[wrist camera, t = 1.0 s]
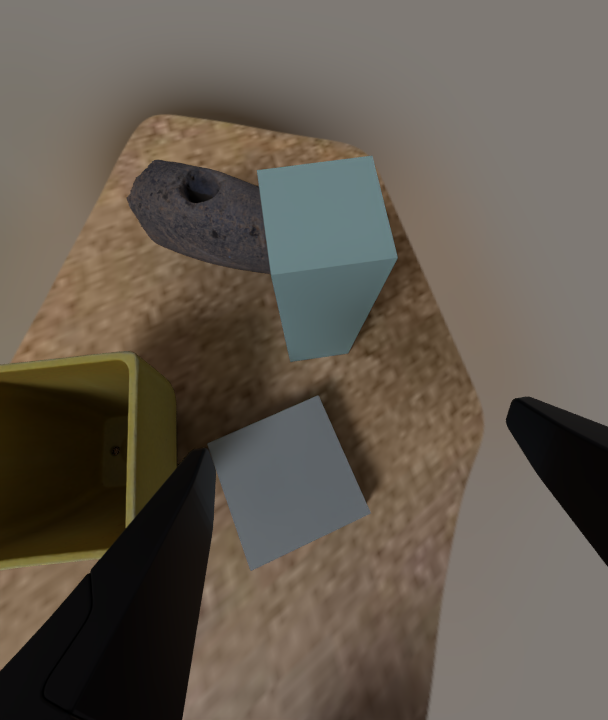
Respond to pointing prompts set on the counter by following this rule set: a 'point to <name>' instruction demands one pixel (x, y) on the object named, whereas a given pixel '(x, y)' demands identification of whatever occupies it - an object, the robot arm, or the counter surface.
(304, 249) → the pillar
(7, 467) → the flower pot
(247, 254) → the perforated stone tool
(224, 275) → the counter surface
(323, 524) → the tile
